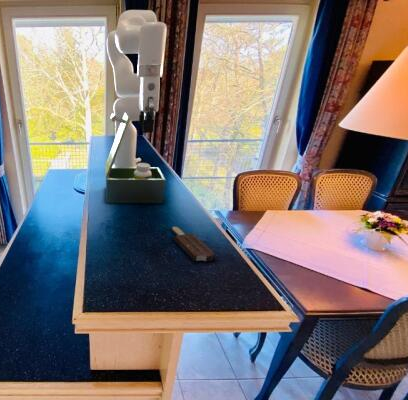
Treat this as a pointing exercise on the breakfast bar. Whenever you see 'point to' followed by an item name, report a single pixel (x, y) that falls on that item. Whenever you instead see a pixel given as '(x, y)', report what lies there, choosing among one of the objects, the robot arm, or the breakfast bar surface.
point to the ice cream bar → (193, 246)
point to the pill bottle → (142, 171)
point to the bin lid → (116, 141)
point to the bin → (134, 186)
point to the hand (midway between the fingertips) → (145, 129)
